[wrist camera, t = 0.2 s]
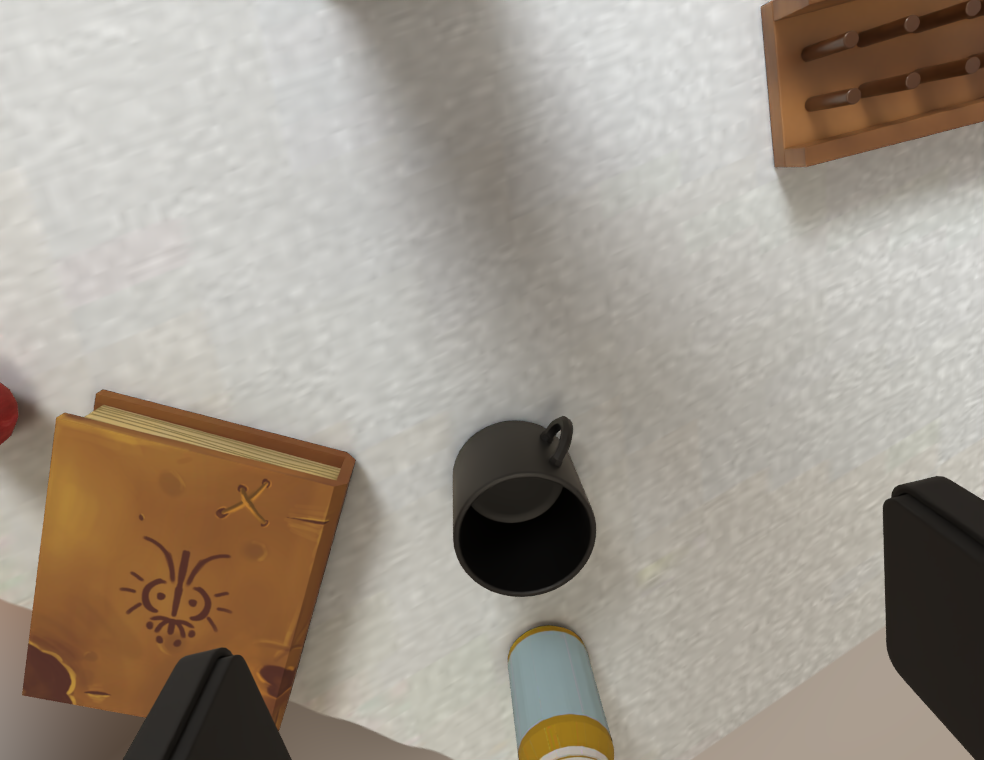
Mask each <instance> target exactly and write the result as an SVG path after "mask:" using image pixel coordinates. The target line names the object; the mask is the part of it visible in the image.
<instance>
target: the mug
mask: <svg viewBox="0 0 984 760" xmlns="http://www.w3.org/2000/svg"><path fill="white" fill-rule="evenodd" d="M560 430H561V436H560V439H559V438H558V437H557V436H555V435H556V434H557V433H558V432H559V431H560ZM572 434H573V425H572V422H571V420H569V419H568V418H567V417H565V416H562V417H559V418H557V419H555V420H554V421H553V422H552V423H550V425H549V426H548V427H547V429H546V428H544V427H542V426H539V425H537V424H534V423H530V422H525V421H505V422H500V423H496V424H493V425H491V426H488V427H486V428H484V429H482V430H481V431H479V432H477V433H476V434H475V435H474V436H472V437H471V438H470V439H469V440H468V441H467V442H466V443H465V445H464V446H463V447H462V449H461V450H460V452H459V454H458V456H457V458H456V461H455V464H454V468H453V542H454V549H455V552H456V555H457V558H458V560H459V562H460V564H461V566H462V567H463V569H464V570H465V572H466V573H467V574H468V575H469V576H470V577H471V578H472V579H473V580H474V581H475V582H477V583H478V584H480V585H481V586H483V587H484V588H486V589H488V590H490V591H493V592H496V593H499V594H502V595H507V596H515V597H527V596H535V595H540V594H544V593H547V592H550V591H552V590H555V589H557V588H559V587H560V586H562V585H564V584H565V583H567V582H568V581H570V580H571V579H572V578H573V577H574V576H576V575H577V574H578V573H579V572H580V570H581V569H582V568H583V567H584V565H585V564H586V562H587V561H588V559H589V557H590V555H591V553H592V550H593V547H594V544H595V538H596V522H595V517H594V513H593V511H592V508H591V505H590V503H589V501H588V498H587V496H586V494H585V491H584V489H583V486H582V484H581V482H580V479H579V477H578V475H577V472H576V470H575V467H574V465H573V463H572V460H571V458H570V456H569V453H568V449H569V447H570V444H571V440H572Z"/></svg>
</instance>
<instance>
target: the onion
mask: <svg viewBox="0 0 984 760" xmlns="http://www.w3.org/2000/svg"><path fill="white" fill-rule="evenodd" d="M17 419H18V404H17V401H16V399H15V398H14V396H13V394H12V393H11V391H10V389H8V388H7V387H6V386H4V385H3V384H2V383H0V445H1V444H2V443H3V442H4V441H6V440H7V439H8V438H9V437H10V436H11V435H12V432H13V430H14V427H15V425H16V423H17Z"/></svg>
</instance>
